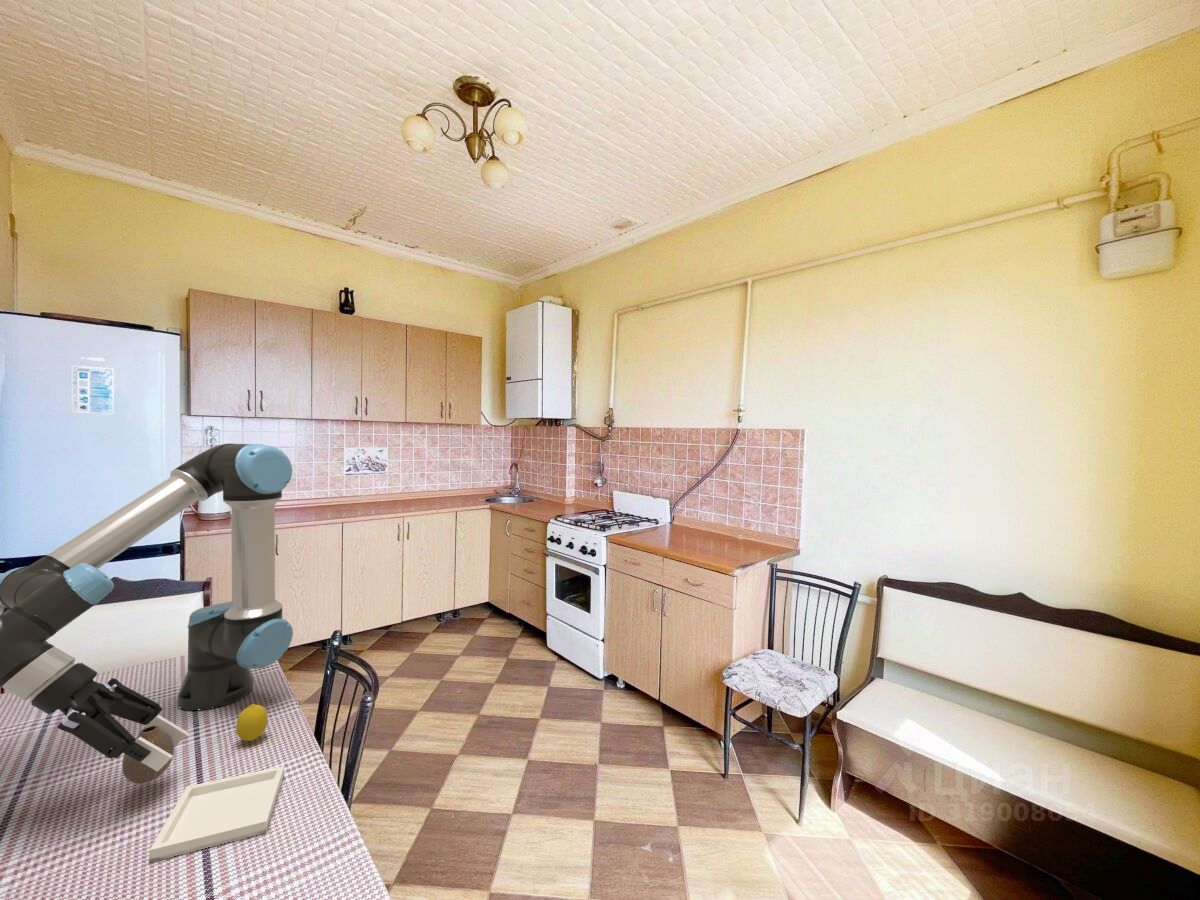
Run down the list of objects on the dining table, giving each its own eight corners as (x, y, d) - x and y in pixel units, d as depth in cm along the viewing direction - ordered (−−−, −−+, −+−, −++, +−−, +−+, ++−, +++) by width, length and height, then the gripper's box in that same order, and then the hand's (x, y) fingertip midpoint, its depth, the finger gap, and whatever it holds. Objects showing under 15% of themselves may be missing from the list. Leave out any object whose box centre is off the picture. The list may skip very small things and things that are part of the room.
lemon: (250, 750, 100) (251, 713, 100) (229, 747, 101) (230, 709, 101) (273, 735, 106) (274, 699, 106) (252, 732, 107) (253, 696, 107)
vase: (128, 795, 82) (129, 745, 82) (116, 779, 86) (117, 731, 86) (179, 772, 88) (180, 725, 88) (166, 758, 92) (166, 713, 92)
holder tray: (186, 797, 87) (186, 786, 87) (283, 776, 93) (284, 765, 93) (149, 863, 73) (149, 850, 73) (266, 833, 79) (266, 821, 79)
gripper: (67, 673, 90) (176, 738, 96) (-13, 731, 72) (128, 806, 79) (105, 641, 92) (209, 707, 99) (37, 689, 74) (170, 766, 81)
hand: (173, 751), depth 89 cm, fingers closed on vase, 7 cm apart
